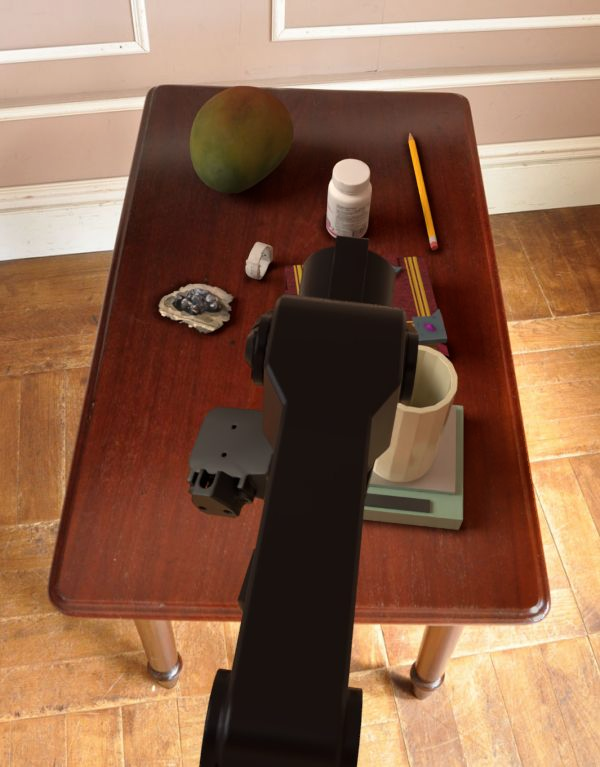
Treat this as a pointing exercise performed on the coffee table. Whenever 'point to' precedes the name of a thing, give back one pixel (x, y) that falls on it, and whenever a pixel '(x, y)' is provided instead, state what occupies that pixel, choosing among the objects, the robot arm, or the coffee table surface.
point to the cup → (420, 419)
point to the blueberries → (198, 306)
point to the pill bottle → (349, 199)
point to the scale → (425, 487)
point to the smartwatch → (259, 260)
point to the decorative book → (402, 298)
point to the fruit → (240, 138)
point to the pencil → (423, 193)
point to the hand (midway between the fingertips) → (319, 529)
